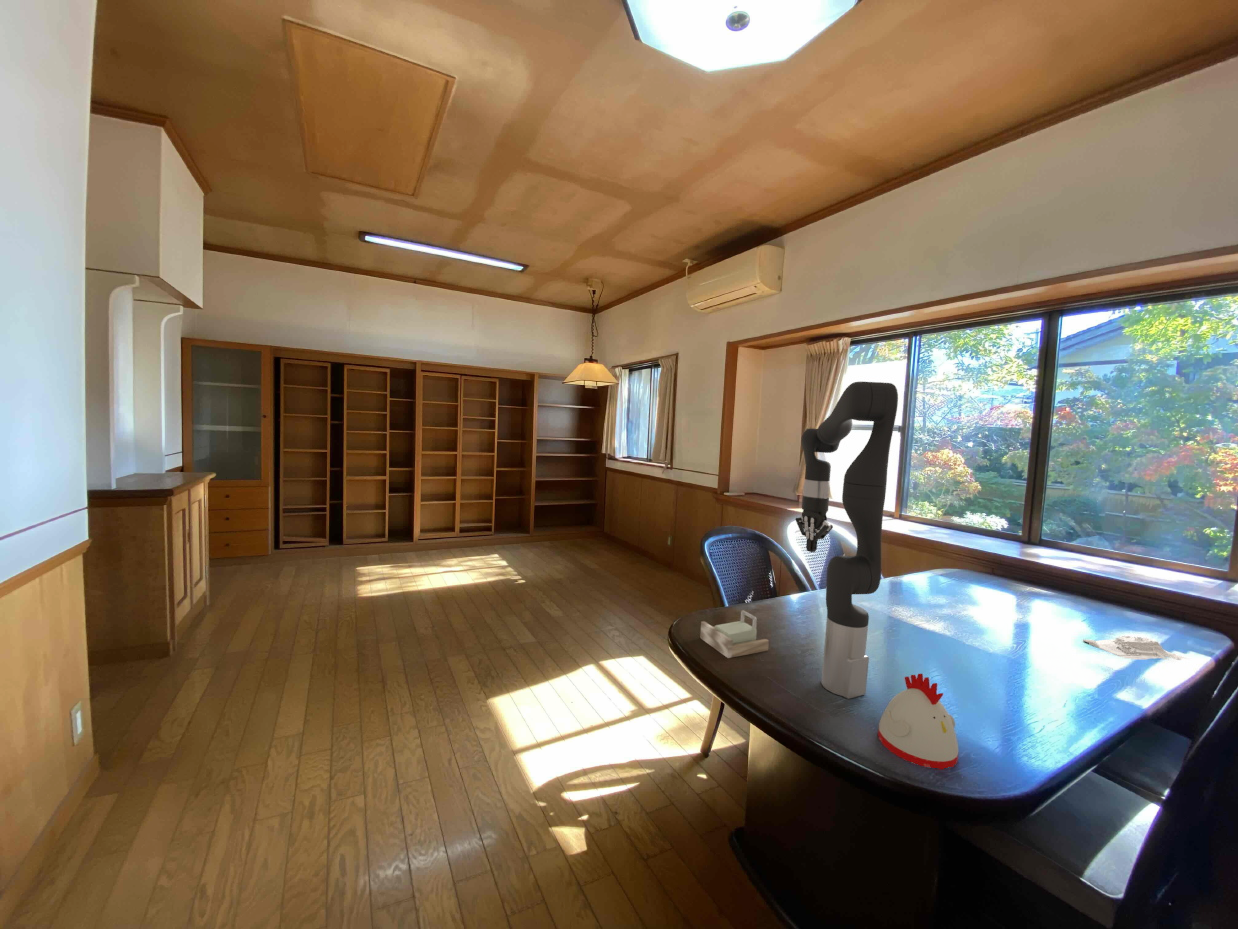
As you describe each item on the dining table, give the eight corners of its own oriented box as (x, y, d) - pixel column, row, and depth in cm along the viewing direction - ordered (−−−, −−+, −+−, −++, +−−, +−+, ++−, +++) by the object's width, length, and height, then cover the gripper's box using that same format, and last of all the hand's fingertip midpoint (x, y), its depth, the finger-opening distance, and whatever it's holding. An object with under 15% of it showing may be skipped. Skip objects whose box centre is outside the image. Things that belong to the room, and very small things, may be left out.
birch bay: (768, 650, 140) (769, 633, 140) (727, 658, 134) (729, 640, 134) (738, 631, 152) (739, 616, 152) (700, 638, 146) (701, 621, 146)
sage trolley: (757, 650, 141) (759, 618, 140) (729, 656, 136) (732, 623, 135) (739, 639, 147) (741, 608, 146) (712, 644, 143) (714, 613, 142)
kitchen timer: (917, 774, 91) (925, 697, 90) (863, 729, 105) (869, 662, 103) (974, 764, 95) (983, 690, 94) (915, 722, 108) (921, 657, 107)
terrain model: (1077, 647, 158) (1079, 632, 158) (1122, 638, 165) (1124, 623, 165) (1145, 672, 143) (1147, 655, 142) (1192, 660, 150) (1194, 644, 149)
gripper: (790, 492, 152) (786, 546, 153) (824, 498, 140) (819, 558, 141) (808, 491, 155) (803, 545, 156) (842, 498, 143) (837, 556, 144)
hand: (811, 551), depth 149 cm, fingers closed
